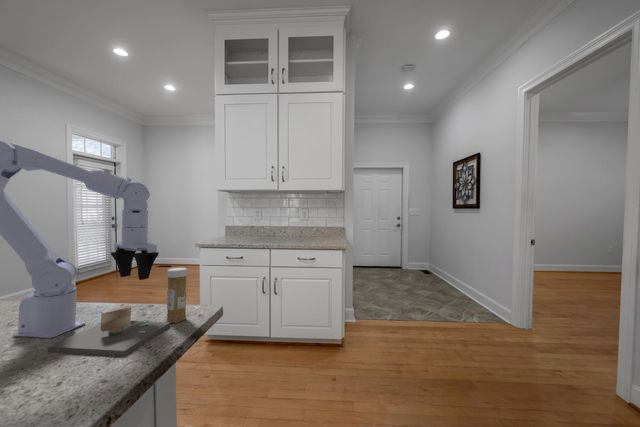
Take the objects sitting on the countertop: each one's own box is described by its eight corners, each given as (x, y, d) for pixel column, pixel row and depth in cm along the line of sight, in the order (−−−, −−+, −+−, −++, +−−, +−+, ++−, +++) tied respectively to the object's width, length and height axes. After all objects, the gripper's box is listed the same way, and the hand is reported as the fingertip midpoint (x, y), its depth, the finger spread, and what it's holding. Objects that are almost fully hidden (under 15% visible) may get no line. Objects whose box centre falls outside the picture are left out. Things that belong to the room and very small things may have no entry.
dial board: (47, 351, 52) (48, 345, 52) (109, 323, 66) (109, 318, 66) (124, 356, 51) (124, 349, 51) (170, 326, 65) (170, 321, 65)
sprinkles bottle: (187, 321, 68) (188, 269, 69) (166, 324, 66) (168, 271, 66) (184, 315, 72) (186, 266, 72) (165, 318, 70) (166, 267, 70)
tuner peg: (103, 337, 56) (104, 313, 56) (99, 333, 57) (100, 310, 58) (150, 324, 63) (151, 303, 63) (146, 321, 65) (147, 301, 65)
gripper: (167, 227, 72) (166, 277, 72) (132, 226, 78) (132, 272, 78) (141, 228, 66) (140, 283, 66) (105, 227, 71) (105, 277, 71)
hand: (134, 277), depth 71 cm, fingers open, 7 cm apart
